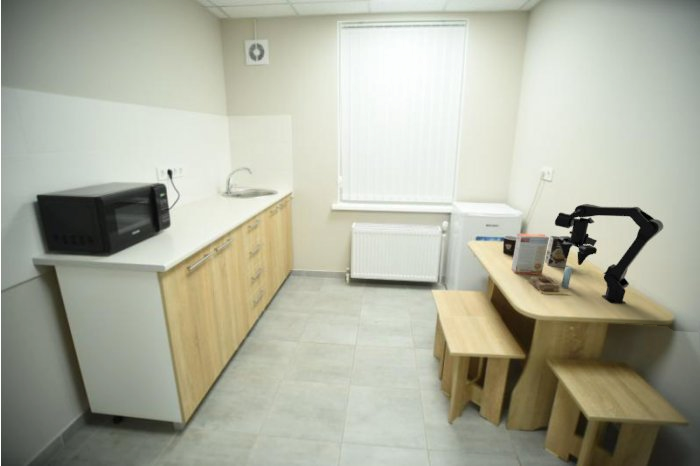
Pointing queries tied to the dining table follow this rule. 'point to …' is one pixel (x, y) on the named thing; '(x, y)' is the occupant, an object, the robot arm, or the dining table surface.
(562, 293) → the lace
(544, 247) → the cracker box
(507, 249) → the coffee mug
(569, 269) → the light blue cylinder
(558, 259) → the coffee box
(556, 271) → the dining table surface
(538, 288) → the brown square frame
